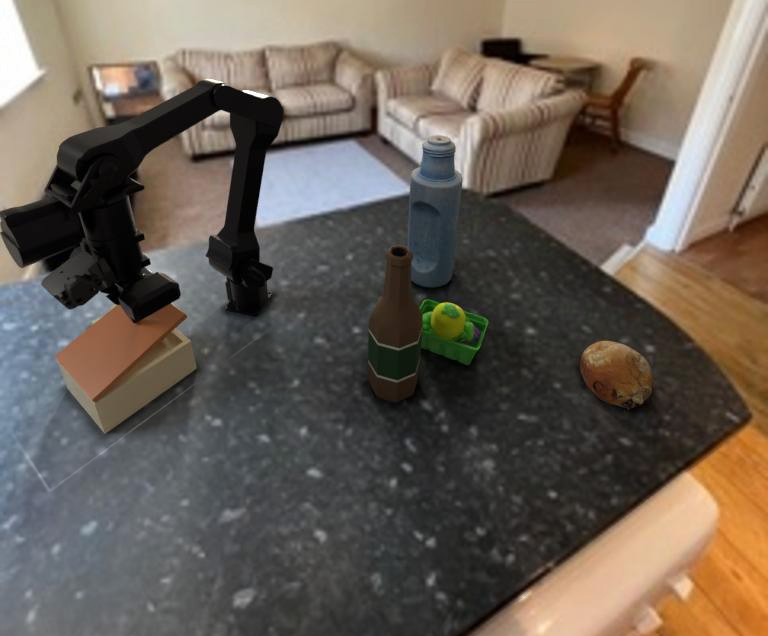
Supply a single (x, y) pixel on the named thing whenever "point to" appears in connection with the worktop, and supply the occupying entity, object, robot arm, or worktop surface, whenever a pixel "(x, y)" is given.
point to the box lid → (115, 347)
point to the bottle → (434, 213)
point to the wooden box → (138, 382)
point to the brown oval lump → (616, 374)
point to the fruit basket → (451, 331)
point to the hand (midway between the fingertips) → (135, 320)
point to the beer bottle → (395, 332)
